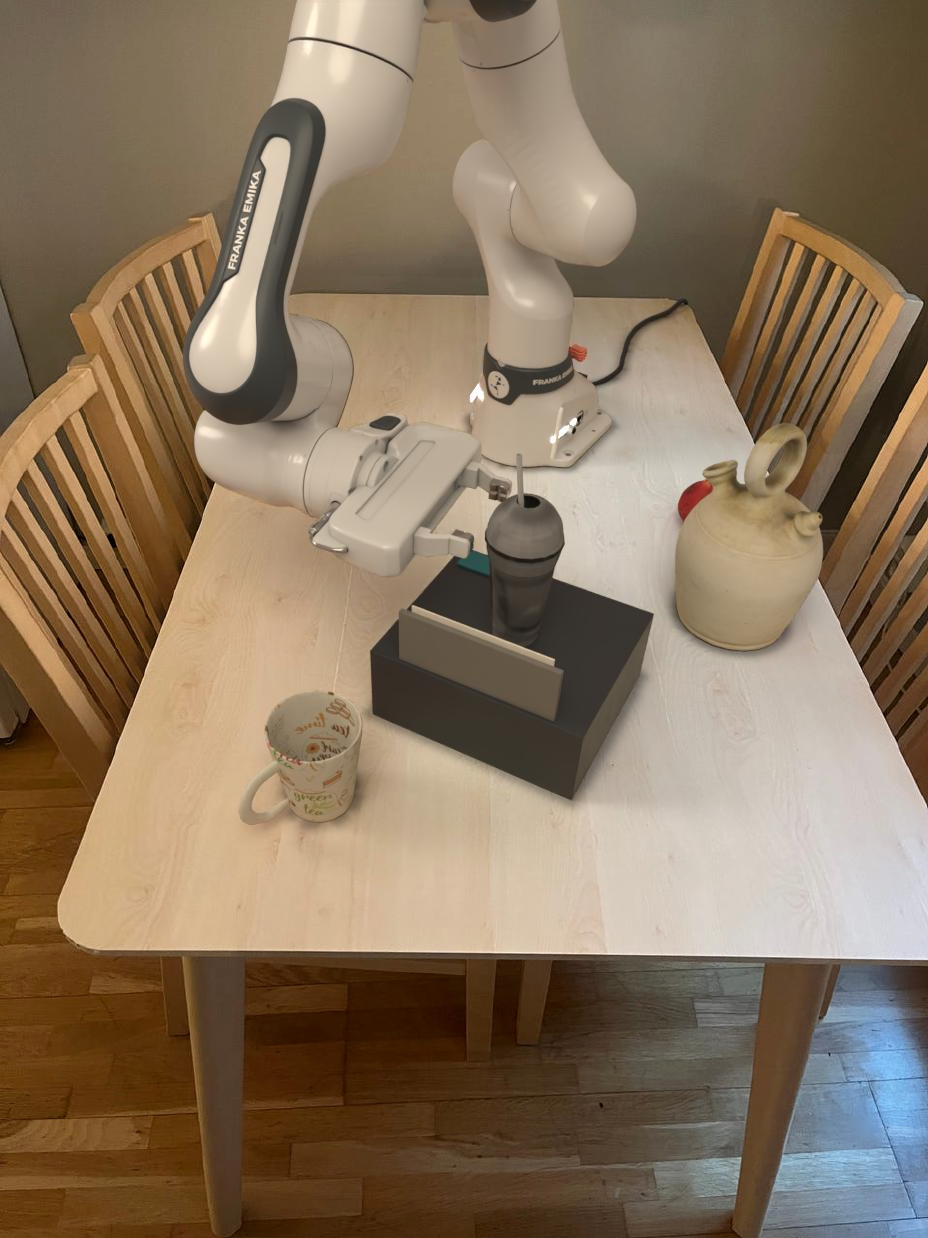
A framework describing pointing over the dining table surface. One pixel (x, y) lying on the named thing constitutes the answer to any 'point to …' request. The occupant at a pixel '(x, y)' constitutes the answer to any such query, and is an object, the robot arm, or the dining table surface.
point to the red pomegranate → (693, 497)
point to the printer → (510, 675)
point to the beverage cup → (522, 562)
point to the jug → (749, 549)
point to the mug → (309, 757)
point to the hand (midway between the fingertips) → (490, 518)
